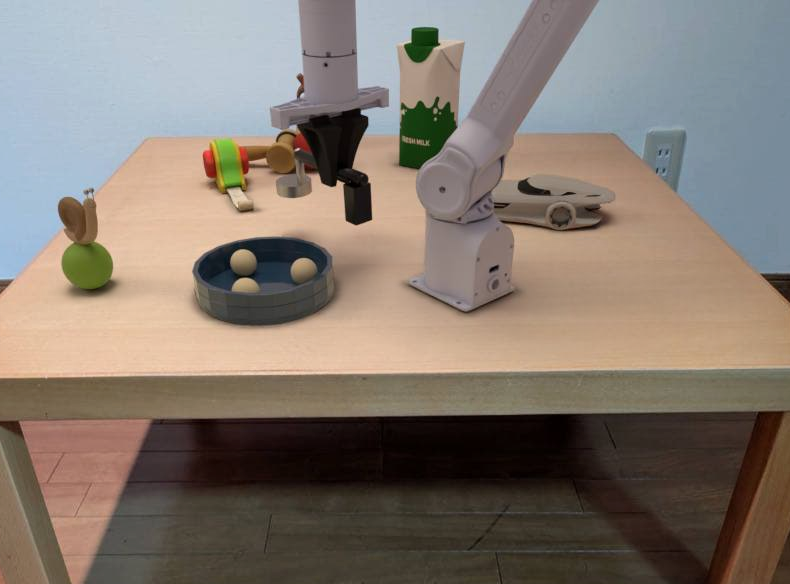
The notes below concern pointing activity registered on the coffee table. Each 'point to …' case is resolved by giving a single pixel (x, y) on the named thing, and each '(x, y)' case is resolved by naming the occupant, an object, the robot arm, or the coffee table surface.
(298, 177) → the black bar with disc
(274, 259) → the bowl
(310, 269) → the dumpling
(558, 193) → the car model
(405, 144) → the milk carton
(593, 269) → the coffee table surface
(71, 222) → the snail figurine
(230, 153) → the toy measuring tape
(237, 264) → the dumpling
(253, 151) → the kendama
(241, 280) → the dumpling
